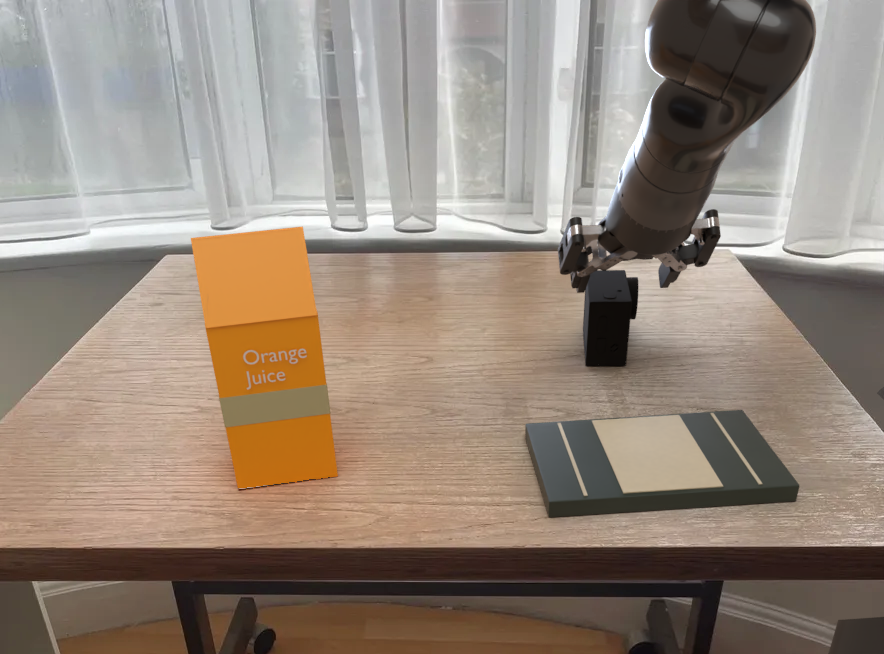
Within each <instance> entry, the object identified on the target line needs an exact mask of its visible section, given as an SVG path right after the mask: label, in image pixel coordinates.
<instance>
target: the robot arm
mask: <svg viewBox="0 0 884 654" xmlns="http://www.w3.org/2000/svg"><path fill="white" fill-rule="evenodd" d="M816 37H817V21H816V17H815V13H814V11H813V8H812V6H811V5H810V3H809V2H808V1H807V0H657V1H656V3H655V4H654V6H653V9H652V11H651V13H650V16H649V18H648V21H647V26H646V29H645V38H644V48H645V56H646V60H647V63H648V65H649V67H650V68H651V70H652V71H653V72H654V73H655V74H657V75H659V77H661V78H663V79H664V80H663V81H662V82H661V83H660V84H659V85H658V86H657V88H655V91H654V92H653V94H652V97H651V98H650V100H649V102H648V105H647V108H646V110H645V114H644V116H643V120H642V121H641V125H640V128H639V131H638V133H637V135H636V138H635V140H634V141H633V143H632V145H631V147H630V148H629V149H628V152H627V154H626V157H625V160H624V163H623V165H622V166H621V169H620V170H619V172H618V173H619V174H618V179H617V182H616V185H615V188H614V191H613V194H612V196H611V199H610V202H609V205H608V209H607V212H606V216H604V218H603V219H601V220H600V221H599V222H598V223H597V224H586V225H585V224H583V218H582V217H580V216H574V217H571V218H569V220H568V221H567V224H566V227H565V230H564V232H563V235H562V237H561V240H560V242H559V245H558V247H557V256H558V257H557V258H558V267H559V274H560V275H562V276H566V275H570V283H571V284H570V285H571V288H572V289H575V291H576V293H577V294H580V293H581V294H583V293H584V294H585V289H586V286H587V284H588V281H589V278H590V274H592V273H593V272H595V271H597V270H603V271H606V270H610V269H611V268H613V267H614V266H616V265H618V264H620V263H622V262H629V261H634V260H642V261H646V260H647V261H648V260H653V259H656V260H657V259H658V260H659V261H660V265H659V267H658V282H659V283H658V284H659V289H668V288H669V286H670V285H671V284H674V283H675V282H676V281H677V280H678V278H679V276H680V275H681V273H682V272H683V271H685V270H687V269H688V266H690V265H693V264H694V266H695V267H696V268H702V267H703V268H704V267H705V266H707V264H708V263H709V261H710V259H711V257H712V255H713V253H714V251H715V249H716V247H717V245H718V243H719V241H720V239H721V237H722V235H721V226H720V217H719V211H718V209H715V208H712V209H709V210H706V211H705V212H704V213H703V216H702V218H699V216H700V214H701V212H702V210H703V208H704V206H705V205H706V203H707V201H708V199H709V197H710V195H711V193H712V191H713V189H714V187H715V184H716V181H717V178H718V174H719V172H720V170H721V168H722V167H723V164H724V163H725V161H726V158H727V156H728V155H729V153H730V151H731V149H732V147H733V146H734V144H735V143H736V142H737V141H738V139H739V138H740V137H741V136H742V135H743V134H744V133H745V132H746V131H747V130H749V129H750V128H751V127H752V126H754V125H755V124H756V123H757V122H759V121H760V120H761V119H762V118H763V117H765V116H766V115H767V114H768V113H769V112H770V111H772V110H773V108H774V107H776V105H778V104H779V103H780V102H781V101H782V100H783V98H785V97H786V96H787V94H788V93H789V92H790V91H791V90H792V88H793V87H795V85H796V83H797V82H798V80H799V79H800V77H801V76H802V74H803V73H804V71H805V69H806V68H807V66H808V63H809V61H810V59H811V58H812V54H813V52H814V48H815V45H816ZM691 235H693V238H692V240H691V243H690V244H686V245H685V242H686V241H687V240H688V239H689V238H690V237H691ZM607 252H608V253H609V254H608V253H607ZM590 255H592V258H591V260H590V259H589V256H590Z"/></svg>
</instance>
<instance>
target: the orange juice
mask: <svg viewBox="0 0 884 654" xmlns="http://www.w3.org/2000/svg"><path fill="white" fill-rule="evenodd" d="M190 242H191V249H192V254H193V255H192V256H193V260H194V267H195V272H196V279H197V284H198V290H199V296H200V302H201V309H202V314H203V319H204V320H203V321H204V327H205V328H204V329H205V333H206V338H207V343H208V347H209V352H210V358H211V362H212V367H213V372H214V373H213V374H214V377H215V382H216V387H217V392H218V400H219V405H220V411H221V415H222V420H223V425H224V428H225V432H226V438H227V442H228V446H229V451H230V456H231V461H232V466H233V471H234V477H235V482H236V486H237V489H238V488H247V487H256V486H263V485H273V484H281V483H288V484H290V483H289V482H295V483H298V482H297V481H302V482H304V481H303V480H309V479H316V480H322V479H321V478H323V479H329V478H328V477H330V478H336V477H339V473H338V466H337V465H338V464H337V459H336V451H335V450H336V449H335V442H334V433H333V427H332V426H333V425H332V417H331V413H332V412H331V406H330V405H331V404H330V397H329V390H328V382H327V377H326V369H325V362H324V361H325V360H324V353H323V345H322V337H321V329H320V321H319V314H318V313H319V312H318V310H317V305H316V299H315V293H314V287H313V281H312V274H311V269H310V263H309V256H308V250H307V244H306V243H307V242H306V238H305V231H304V226H295V227H285V228H276V229H275V228H273V229H266V230H265V229H263V230H255V231H245V232H236V233H225V234H217V235H206V236H197V237H190ZM309 481H310V480H309ZM281 485H282V484H281Z"/></svg>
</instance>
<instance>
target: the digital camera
mask: <svg viewBox="0 0 884 654" xmlns="http://www.w3.org/2000/svg"><path fill="white" fill-rule="evenodd" d="M638 305H639V277H638V276H629V277H628V276H627V273H626V270H625V269H614V270H613V269H607V270H606V271H603V270H600V269H598V270H597V271H595V272H593V273H592V274H590V278H589V281H588V284H587V286H586V289H585V292H584V303H583V321H582V338H583V340H582V341H583V352H584V364H585V367H625V366H627V360H628V351H629V350H628V349H629V340H630V339H629V338H630V329H631V328H630V327H631V320H636V319H637V312H638Z"/></svg>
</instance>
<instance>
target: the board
mask: <svg viewBox="0 0 884 654" xmlns="http://www.w3.org/2000/svg"><path fill="white" fill-rule="evenodd" d="M524 426H525V428H524V429H525V432H524V438H525V441H526V445H527V448H528V452H529V455H530V458H531V462H532V465H533V466H532V467H533V469H534V473H535V475H536V479H537V483H538V486H539V489H540V492H541V495H542V499H543V502H544V507H545V510H546V514H547V516H548V518H562V517H563V518H564V517H578V516H592V515H607V514H624V513H636V512H638V513H639V512H651V511H652V512H654V511H668V510H683V509H697V508H698V509H699V508H712V507H714V508H715V507H727V506H728V507H729V506H743V505H757V504H758V505H759V504H772V503H773V504H774V503H790V502H797V499H798V494H799V491H800V484H799V483H798V481H797V480H796V479H795V477H794V476H793V475H792V473H791V472H790V471H789V469H788V468H787V466H786V465H785V464H784V463H783V461H782V460H781V459H780V458H779V456H778V455H777V454H776V452H775V451H774V450H773V449H772V447H771V445H770V444H769V443H768V441H767V440H766V439H765V438H764V436H763V435H762V434H761V432H760V431H759V430H758V428H757V427H756V426H755V424H754V423H753V422H752V421H751V419H750V418H749V417H748V416H747V414H746V413H745V411H744V410H743V409H731V410H715V411H702V412H700V411H698V412H685V413H684V412H683V413H670V414H669V413H667V414H654V415H638V416H624V417H623V416H622V417H621V416H619V417H606V418H605V417H604V418H591V419H575V420H560V421H545V422H528V423H525V425H524Z"/></svg>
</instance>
